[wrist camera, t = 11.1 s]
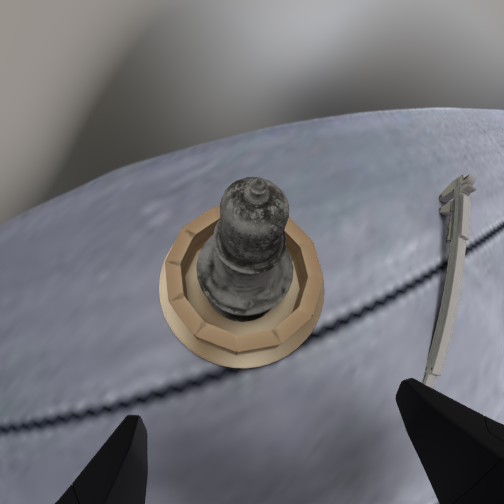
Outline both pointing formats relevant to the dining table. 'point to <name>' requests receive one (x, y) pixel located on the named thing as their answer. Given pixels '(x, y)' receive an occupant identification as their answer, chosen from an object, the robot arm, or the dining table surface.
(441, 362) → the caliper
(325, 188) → the dining table surface
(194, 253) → the dish
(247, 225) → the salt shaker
